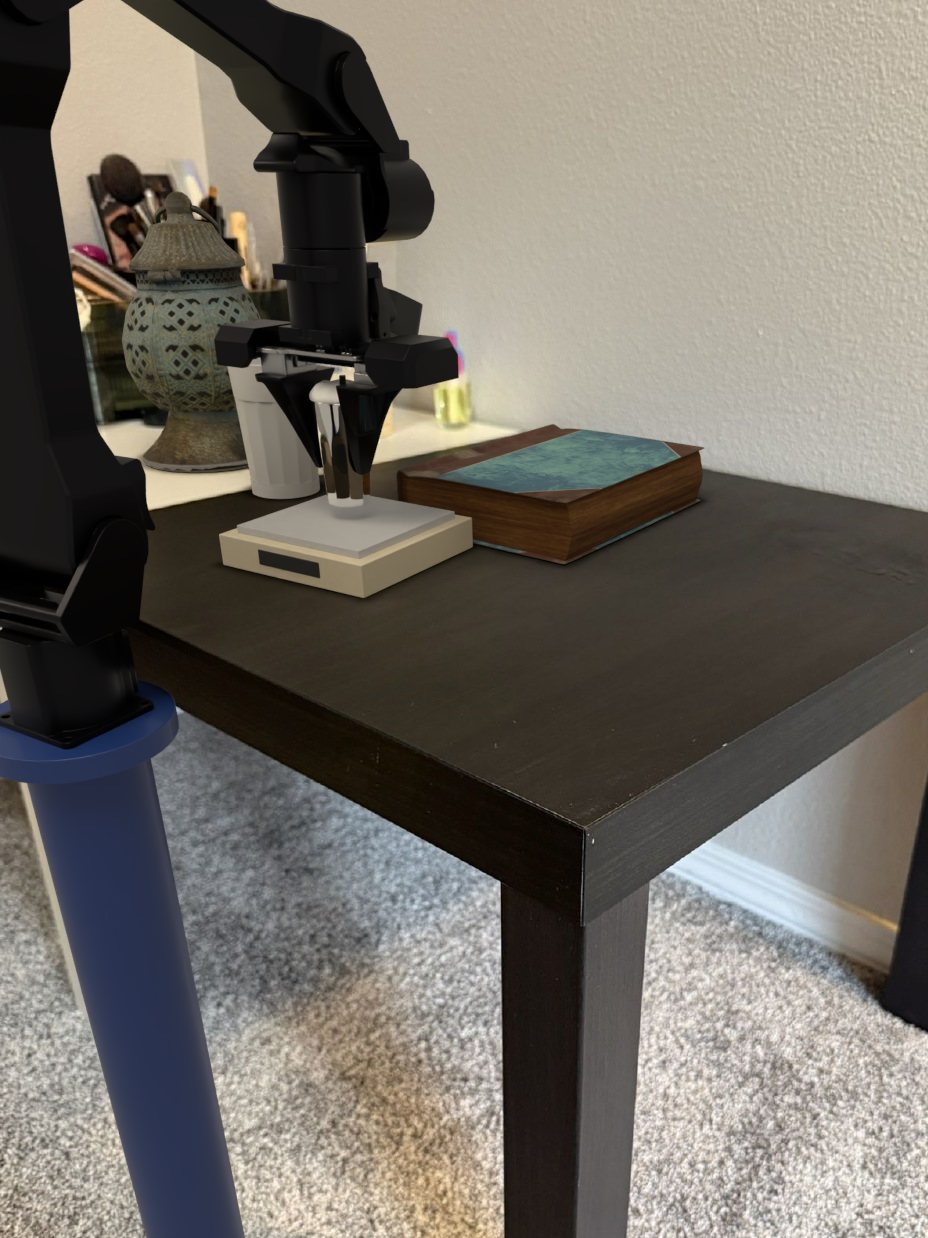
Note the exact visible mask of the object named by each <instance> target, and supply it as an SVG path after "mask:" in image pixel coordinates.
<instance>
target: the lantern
mask: <svg viewBox="0 0 928 1238" xmlns="http://www.w3.org/2000/svg"><path fill="white" fill-rule="evenodd" d="M165 213H166V214H167V215H166V220H165V221H161V218H162V215H164V214H165ZM193 213H195V214H197V215H199V216H200V217H201V218H203V219H205V220H206V221H203V220H196V218H195V216H194V214H193ZM153 220H154V223H152V224H150V225H149V226H148V230H147V233H146V236H145V239H144V241H143V243H142V246H141V247H140V248H139V250H138V251H137V253H136V254H135V255H134V256H133V258H132V259H131V260H130V262H129V263H128V270H129V271H130V272H134V275H135V281H136V288H137V289H136V291H135V293H134V295H133V297H132V299H131V301H130V303H129V304H128V306H127V308H126V311H125V316H124V322H123V330H122V337H121V343H122V349H123V354H124V359H125V360H124V361H125V365H126V369H127V371H128V373H129V374H130V377H131V378H132V380H133V382H134V384H135V386H136V387H137V389H138V391H139V393H140V394H142V395H143V396H144V397H145V398H146V399H148V401H150V402H151V403H152V404H154V406H156V407H157V408H158V409H159V410H162V411H163V410H165V411H168V413H167V418H166V422H165V425H164V427H163V429H162V431H161V432H160V435H159V436H158V437H157V439H156V440H155V441H154V443H152V445H151V446H150V447H148V448H147V450H145V452H144V453H143V455H142V459H143V462H144V464H145V466H147V467H150V468H151V469H152V468H153V469H155V470H160V471H166V472H171V473H189V474H190V473H195V474H196V473H217V472H227V471H235V470H242V469H247V468H249V466H248V461H247V456H246V452H245V447H244V442H243V437H242V432H241V427H240V422H239V417H238V412H237V407H236V402H235V397H234V395H233V390H232V386H231V381H230V376H229V372H228V367H227V366H221V365H217V359H216V351H215V343H214V338H215V336H216V334H217V332H218V331H219V329H220V327H221V325H225V324H232V323H239V322H246V321H254V320H261V319H262V318H261V315H260V312H259V310H258V309H257V307H256V305H255V303H254V301H253V299H252V298H251V295H250V294H249V292H248V290H247V289H246V287H245V285H244V283H243V280H242V276H241V274H240V270H239V268H242V267H245V266H246V260H245V259H244V257H242V256H241V255H240V254H239V253H237V252H236V251H235V250H234V249H232V248H231V247H230V246H229V245H228V244H227V243H226V242H225V241H224V239H223V237H222V230H221V228H220V225H219V223H218V222H217V221H216V220H215V219H214V218H213V217H212V216H211V215H210V214H209V213H208V212H207V211H206V210H204V209H203V208H202V207H200V206H198V205H194V204H193V202H192V200H191V199H190V198H189V196H188V195H187V194H186V193H184V192H182V191H171V192H170V193H168V194H167V195H166V198H165V200H164V204H163V205H162V206H159V207H158V208H157V210H155V212H154V215H153Z"/></svg>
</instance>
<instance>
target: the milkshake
mask: <svg viewBox="0 0 928 1238" xmlns="http://www.w3.org/2000/svg"><path fill="white" fill-rule="evenodd" d="M350 382H354V380H352V379H347V377H346V374H339V376H338V379H334V380H330V381H328V380H323V381H321V382H319V383H317V384H316V385H315V386H314V387H313V388H312V390H311V391H310V394H309V398H310V403H311V409H312V414H313V419H314V424H315V429H316V433H317V437H318V443H319V448H320V454H321V461H322V467H323V468H322V472H323V478H324V484H325V491H326V495H327V498H328V502H329V504H330V505H334V506H337V507H355V506H362V505H364V504H366V503H368V502H370V496H371V471H370V472H369V473H368V474H365V475H358V474H357V471H356V468H355V465H354V462H353V459H352V456H351V452H350V447H349V443H348V438H347V434H346V430H345V425H344V421H343V416H342V412H341V408H340V404H339V399H338V395H337V390H336V385H341V384H345V383H350Z"/></svg>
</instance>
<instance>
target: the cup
mask: <svg viewBox="0 0 928 1238" xmlns="http://www.w3.org/2000/svg"><path fill="white" fill-rule="evenodd" d="M227 367H228V372H229V376H230V381H231V386H232V390H233V395H234V397H235V402H236V407H237V412H238V417H239V422H240V427H241V432H242V437H243V442H244V447H245V452H246V456H247V461H248V466H249V467H248V471H249V476H250V484H251V492H252V494H253V495H254V496H257V497H259V498H264V499H272V500H288V499H290V500H291V499H298V498H304V497H305V498H306V497H308V496H313V495H314V494H317V493H319V491H320V490H321V486H320V485H321V483H320V474H319V468H317V467H316V466H315V464H314V463H313V461H312V459H311V457H310V456H309V454H308V452H307V451H306V449H305V447H304V446H303V444H302V442H301V440H300V439H299V437H298V435H297V434H296V432H295V430H294V428H293V427H292V425H291V424H290V422H289V420H288V419H287V417H286V415H285V414H284V412H283V411H282V409H281V408H280V407H279V405H278V404H277V402H276V401H275V399H274V398H273V396H272V395H271V393H270V392H269V391H268V389H267V388H266V386H265V385H264V384H263V383H262V382H257V381H256V378H255V374H257V373H262V367H261V358H257V359H253V360H252V362H251V363H250V365H249V366H248V367H246V368H237V367H229V366H227Z"/></svg>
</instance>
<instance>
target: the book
mask: <svg viewBox="0 0 928 1238" xmlns="http://www.w3.org/2000/svg"><path fill="white" fill-rule="evenodd" d="M704 449H705V447H703V446H700V445H699V446H698V445H692V444H686V443H679V442H673V441H666V440H661V439H660V440H659V439H653V438H648V437H640V436H634V435H628V434H621V433H615V432H614V433H613V432H607V431H599V430H592V429H591V430H590V429H583V428H570V427H569V428H566V427H565V428H561V427H559V426H558V425H556V424H555V423H551V424H548V425H544V426H541V427H537V428H534V429H530V430H528V431H524V432H521V433H518V434H514V435H511V436H508V437H505V438H501V439H497V440H494V441H491V442H487V443H484V444H481V445H476V446H474V447H469V448H467V449H464V450H460V451H457V452H455V453H454V452H453V453H450V454H447V455H443V456H440V457H437V458H434V459H430V460H427V461H423V462H420V463H416V464H413V465H410V466H407V467H404V468H400V469H397V471H396V493H397V501H400V502H406V503H411V504H417V505H422V506H427V507H433V508H438V509H444V510H449V511H454V512H455V515H460V516H465V517H471V518H472V537H473V545H478V546H483V547H487V548H491V549H496V550H498V551H499V550H500V551H504V552H508V553H513V554H516V555H521V556H525V557H529V558H534V559H538V560H541V561H547V562H551V563H556V564H559V565H567V564H569V563H571V562H574V561H576V560H578V559H580V558H582V557H584V556H587V555H589V554H591V553H593V552H595V551H597V550H600V549H602V548H604V547H606V546H608V545H610V544H612V543H614V542H616V541H618V540H621V539H622V538H625V537H627V536H629V535H631V534H633V533H636V532H637V531H639V530H642V529H644V528H646V527H648V526H650V525H652V524H654V523H657V522H659V521H661V520H663V519H666V518H667V517H670V516H671V515H674V514H676V513H678V512H680V511H682V510H684V509H687V508H688V507H691V506H693V505H695V504H697V503H699V502H701V501H702V499H700V498H698V496H699V492H700V488H701V486H702V483H703V475H704V472H703V465H702V455H701V453H700V451H702V450H704Z"/></svg>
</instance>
